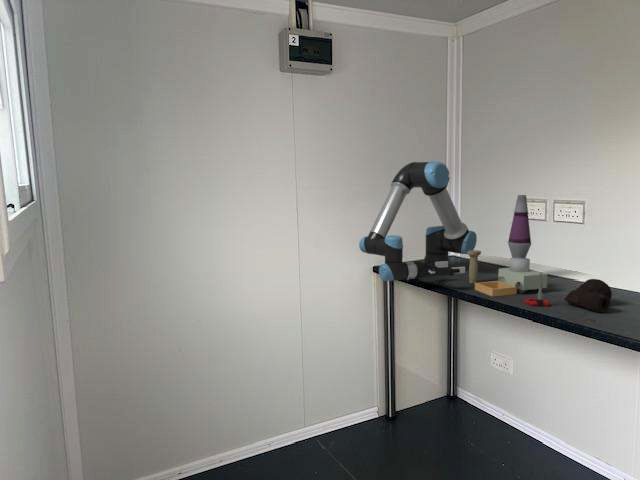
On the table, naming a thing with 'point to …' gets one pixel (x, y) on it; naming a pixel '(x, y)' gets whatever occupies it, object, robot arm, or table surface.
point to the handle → (473, 265)
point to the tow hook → (538, 301)
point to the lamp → (520, 229)
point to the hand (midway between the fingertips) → (456, 266)
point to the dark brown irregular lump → (591, 295)
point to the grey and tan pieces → (514, 279)
